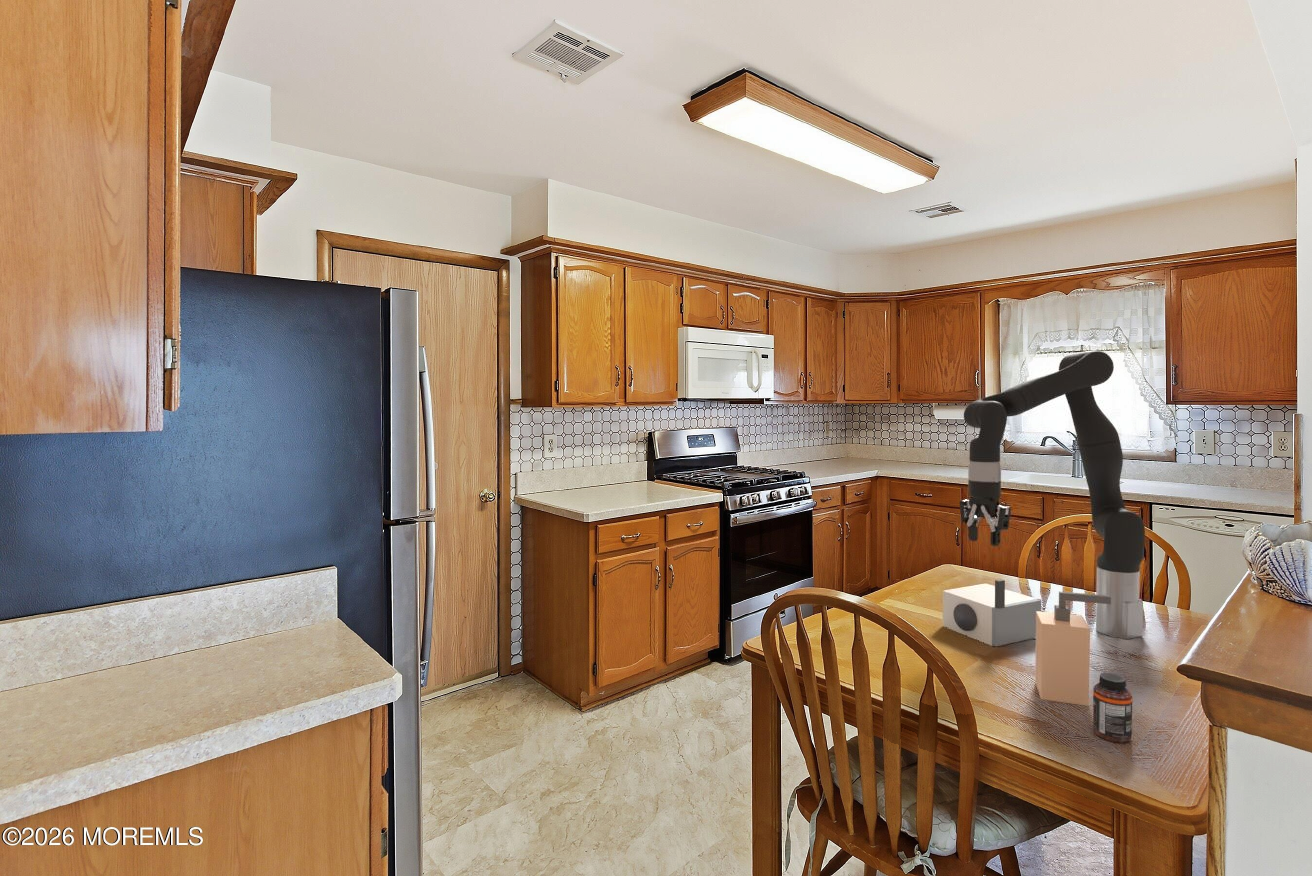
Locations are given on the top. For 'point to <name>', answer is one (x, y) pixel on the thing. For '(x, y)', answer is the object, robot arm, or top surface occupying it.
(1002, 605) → the side door
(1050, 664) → the soap dispenser
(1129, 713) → the supplement bottle
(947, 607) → the camera box
